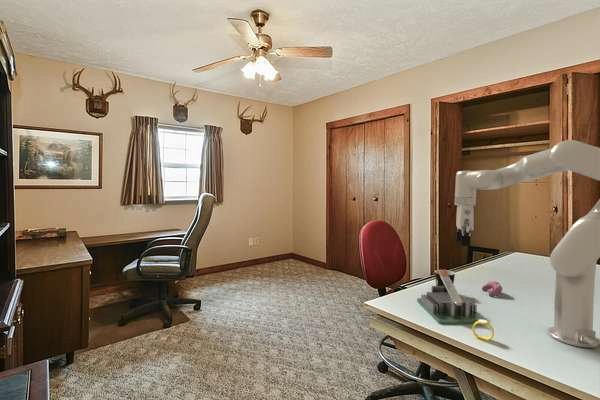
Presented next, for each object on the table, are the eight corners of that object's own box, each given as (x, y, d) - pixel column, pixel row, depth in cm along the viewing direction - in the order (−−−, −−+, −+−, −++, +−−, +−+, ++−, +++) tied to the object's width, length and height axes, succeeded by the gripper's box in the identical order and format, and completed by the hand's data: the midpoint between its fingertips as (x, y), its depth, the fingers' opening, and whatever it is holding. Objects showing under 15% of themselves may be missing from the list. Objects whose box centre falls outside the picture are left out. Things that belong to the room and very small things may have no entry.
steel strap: (463, 306, 116) (464, 304, 115) (455, 306, 116) (456, 304, 115) (445, 271, 131) (445, 269, 130) (437, 271, 131) (438, 269, 130)
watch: (472, 338, 103) (471, 320, 103) (473, 335, 105) (472, 317, 105) (493, 342, 99) (492, 323, 99) (494, 339, 102) (493, 320, 102)
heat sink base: (486, 323, 113) (486, 304, 113) (439, 323, 113) (439, 304, 113) (456, 301, 135) (456, 285, 135) (417, 301, 135) (417, 285, 135)
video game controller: (498, 301, 140) (506, 287, 139) (488, 296, 141) (496, 282, 140) (489, 293, 150) (497, 281, 149) (480, 288, 150) (487, 276, 149)
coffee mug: (435, 289, 151) (435, 269, 151) (455, 292, 147) (455, 271, 146) (432, 296, 141) (432, 274, 141) (453, 300, 137) (453, 277, 137)
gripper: (480, 203, 117) (478, 248, 118) (470, 200, 133) (468, 240, 134) (458, 202, 119) (456, 246, 120) (451, 199, 135) (449, 238, 137)
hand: (462, 243), depth 127 cm, fingers open, 9 cm apart
